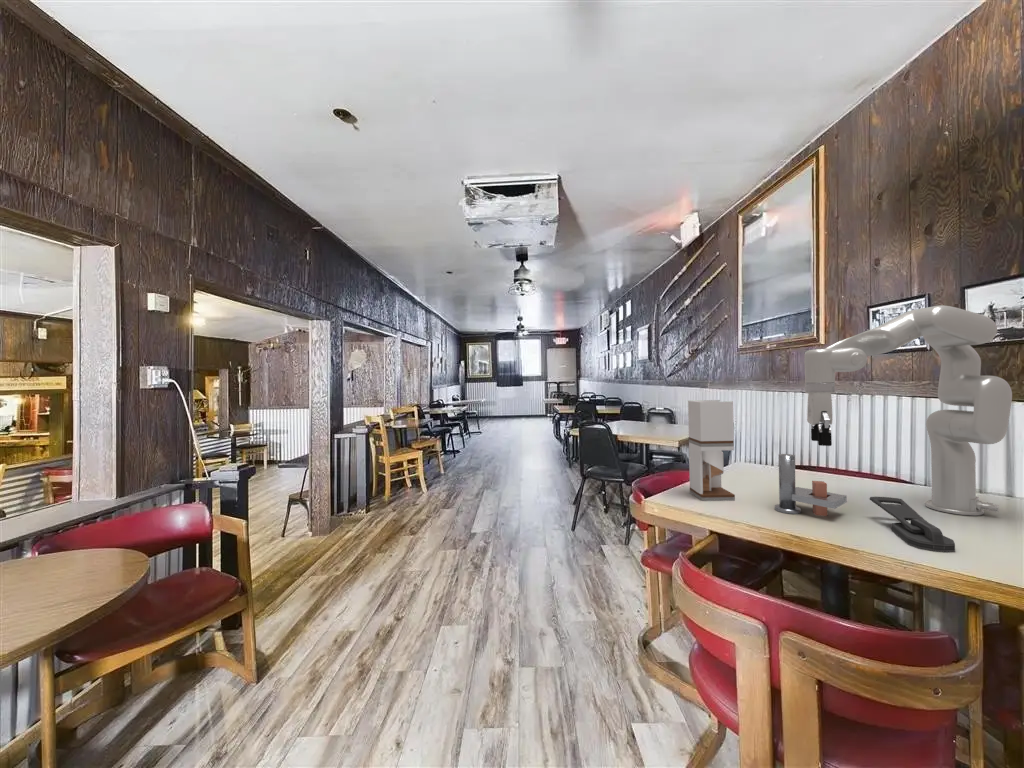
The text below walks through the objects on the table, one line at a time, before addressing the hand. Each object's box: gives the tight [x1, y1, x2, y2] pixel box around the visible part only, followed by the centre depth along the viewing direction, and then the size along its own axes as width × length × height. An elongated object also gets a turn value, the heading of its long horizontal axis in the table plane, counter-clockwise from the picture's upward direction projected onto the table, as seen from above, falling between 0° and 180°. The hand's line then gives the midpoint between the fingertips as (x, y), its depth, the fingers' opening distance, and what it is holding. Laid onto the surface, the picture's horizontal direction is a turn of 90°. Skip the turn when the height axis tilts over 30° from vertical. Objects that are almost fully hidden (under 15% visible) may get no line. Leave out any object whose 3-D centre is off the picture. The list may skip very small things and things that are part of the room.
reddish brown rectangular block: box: [811, 480, 828, 517], centre depth 127 cm, size 3×3×10 cm
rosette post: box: [774, 453, 848, 515], centre depth 129 cm, size 16×13×18 cm
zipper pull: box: [869, 496, 956, 553], centre depth 110 cm, size 9×7×25 cm
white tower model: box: [687, 399, 736, 502], centre depth 148 cm, size 11×11×35 cm
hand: (821, 443), depth 127 cm, fingers open, 9 cm apart
